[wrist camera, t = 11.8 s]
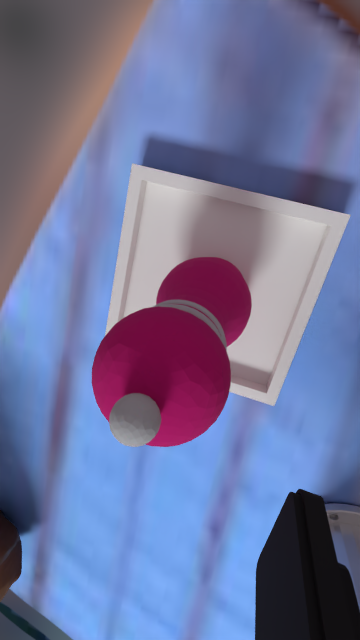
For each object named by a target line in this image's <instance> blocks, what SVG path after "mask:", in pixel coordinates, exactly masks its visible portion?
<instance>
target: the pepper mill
mask: <svg viewBox="0 0 360 640" xmlns="http://www.w3.org/2000/svg"><path fill="white" fill-rule="evenodd" d="M251 308H252V300H251V294H250V290H249V288H248V285H247V283H246V281H245V280H244V278H243V276H242V274H241V272H240V271H239V270H238V269H237V267H236V266H234V265H233V264H232V263H230V262H229V261H227V260H224V259H222V258H218V257H198V258H193V259H189V260H186V261H184V262H182V263H180V264H178V265H177V266H176V267H175V268H173V269H172V270H171V271H170V272H169V274H168V275H167V276H166V277H165V279H164V280H163V282H162V284H161V286H160V288H159V290H158V294H157V298H156V305H155V306H153V307H150V308H143V309H141V310H139V311H136V312H134V313H131V314H129V315H128V316H126V317H124V318H123V319H121V320H120V321H119V322H117V323H116V324H115V325H114V326H113V327H112V328H111V330H110V331H109V332H108V333H107V334H106V336H105V337H104V338H103V340H102V341H101V343H100V346H99V348H98V350H97V352H96V355H95V358H94V363H93V367H92V386H93V391H94V395H95V398H96V402H97V404H98V406H99V408H100V410H101V412H102V414H103V415H104V416H105V418H106V419H107V420H108V421H109V424H110V430H111V432H112V434H113V435H114V437H115V438H116V439H117V440H118V441H119V442H120V443H122V444H124V445H126V446H131V447H138V446H142V445H145V444H146V445H150V446H160V447H168V446H176V445H180V444H183V443H186V442H188V441H191V440H193V439H194V438H196V437H198V436H199V435H201V434H203V433H204V432H205V431H206V430H207V429H208V428H209V427H210V426H211V425H212V424H213V423H214V422H215V421H216V420H217V418H218V416H219V415H220V413H221V411H222V410H223V408H224V405H225V403H226V400H227V398H228V394H229V390H230V386H231V368H230V361H229V358H228V354H227V351H226V350H227V347H228V346H229V345H231V344H232V343H233V342H234V341H236V340H237V339H238V337H239V336H240V335H241V334H242V332H243V331H244V329H245V327H246V325H247V323H248V320H249V318H250V314H251Z"/></svg>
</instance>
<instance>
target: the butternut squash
mask: <svg viewBox="0 0 360 640" xmlns="http://www.w3.org/2000/svg"><path fill="white" fill-rule="evenodd" d="M21 569H22V546H21V540H20V537H19V534H18V531H17V528H16V527H15V525H14V524H13V523H12V522H10V521H9V520H8V519H6V518H5V517H4V515H3V513H2V511H1V510H0V602H1V600H2V599H3V598H4V596H5V594H6V593H7V591H8V590H9V588H10V587H11V585H12V584H13V583H14V582H15V581H16V580H17V579H18V578H19V577H20V575H21Z"/></svg>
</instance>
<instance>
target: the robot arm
mask: <svg viewBox="0 0 360 640" xmlns="http://www.w3.org/2000/svg"><path fill="white" fill-rule="evenodd" d="M255 640H360V507H358V506H353V505H348V504H336V503H332V504H325V503H324V500H323V498H322V497H321V496H319V495H316V494H313V493H310V492H308V491H305V490H302V489H299V490H297V492H296V493H293V492H290V493H289V494H288V496H287V498H286V501H285V503H284V505H283V507H282V509H281V511H280V513H279V516H278V518H277V520H276V522H275V524H274V526H273V529H272V531H271V533H270V535H269V537H268V539H267V541H266V544H265V546H264V548H263V550H262V552H261V554H260V557H259V559H258V563H257V569H256V617H255Z"/></svg>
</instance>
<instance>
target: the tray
mask: <svg viewBox="0 0 360 640" xmlns="http://www.w3.org/2000/svg"><path fill="white" fill-rule="evenodd" d="M349 218H350V215H348V214H344V213H340V212H336V211H331V210H327V209H323V208H319V207H314V206H310V205H306V204H302V203H297V202H293V201H289V200H285V199H280V198H276V197H272V196H268V195H264V194H259V193H255V192H251V191H247V190H242V189H238V188H234V187H230V186H225V185H221V184H217V183H213V182H208V181H204V180H200V179H196V178H192V177H187V176H183V175H179V174H175V173H170V172H166V171H162V170H158V169H153V168H149V167H145V166H141V165H136V164H132V168H131V174H130V180H129V187H128V193H127V200H126V206H125V212H124V219H123V225H122V231H121V238H120V244H119V251H118V257H117V263H116V270H115V276H114V282H113V289H112V295H111V302H110V308H109V314H108V321H107V327H106V333H105V336H106V334H107V333H108V332H109V331H110V330H111V328H112V327H113V326H114V325H115V324H116V323H117V322H119V321H120V320H121V319H123V318H124V317H126V316H128V315H129V314H131V313H134V312H136V311H139V310H141V309H143V308H150V307H153V306H155V305H156V298H157V294H158V290H159V288H160V286H161V284H162V282H163V280H164V279H165V277H166V276H167V275H168V274H169V272H170V271H171V270H172V269H173V268H175V267H176V266H177V265H178V264H180V263H182V262H184V261H186V260H189V259H193V258H198V257H218V258H222V259H224V260H227V261H229V262H230V263H232V264H233V265H234V266H236V267H237V269H238V270H239V271H240V272H241V274H242V276H243V278H244V280H245V281H246V283H247V285H248V288H249V290H250V294H251V300H252V308H251V314H250V318H249V320H248V323H247V325H246V327H245V329H244V331H243V332H242V334H241V335H240V336H239V337H238V339H237V340H236V341H234V342H233V343H232V344H231V345H229V346H228V347H227V350H226V351H227V354H228V358H229V361H230V368H231V386H230V390H229V392H232V393H235V394H238V395H241V396H244V397H247V398H251V399H254V400H257V401H260V402H263V403H266V404H269V405H272V406H274V405H275V403H276V400H277V398H278V395H279V393H280V390H281V388H282V385H283V383H284V380H285V378H286V375H287V373H288V370H289V368H290V365H291V363H292V360H293V358H294V355H295V353H296V350H297V348H298V345H299V343H300V340H301V338H302V335H303V333H304V330H305V328H306V325H307V323H308V320H309V318H310V315H311V313H312V310H313V308H314V305H315V303H316V300H317V298H318V295H319V293H320V290H321V288H322V285H323V283H324V280H325V278H326V275H327V273H328V270H329V268H330V265H331V263H332V260H333V258H334V255H335V253H336V250H337V248H338V245H339V243H340V240H341V238H342V235H343V233H344V230H345V228H346V225H347V223H348V220H349Z"/></svg>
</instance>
